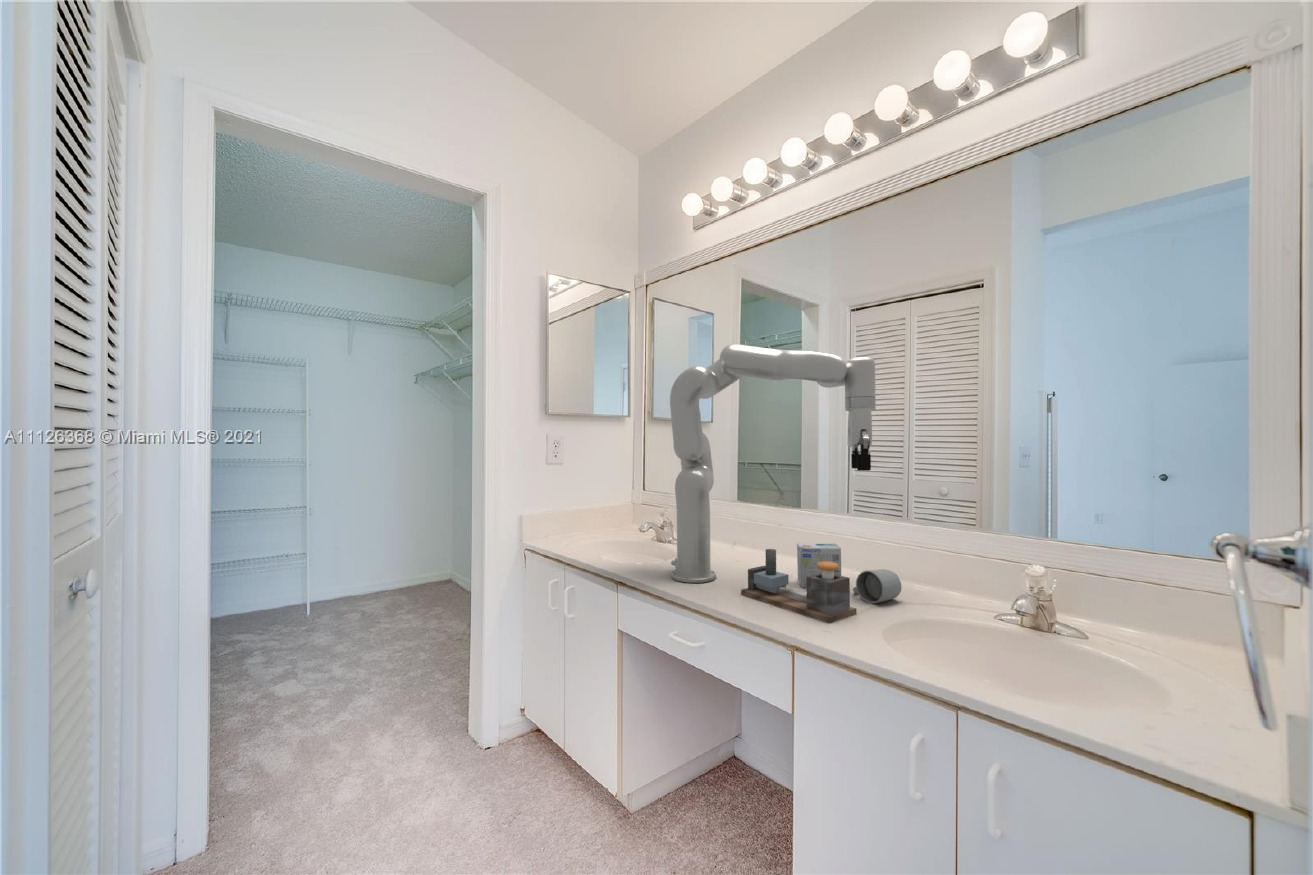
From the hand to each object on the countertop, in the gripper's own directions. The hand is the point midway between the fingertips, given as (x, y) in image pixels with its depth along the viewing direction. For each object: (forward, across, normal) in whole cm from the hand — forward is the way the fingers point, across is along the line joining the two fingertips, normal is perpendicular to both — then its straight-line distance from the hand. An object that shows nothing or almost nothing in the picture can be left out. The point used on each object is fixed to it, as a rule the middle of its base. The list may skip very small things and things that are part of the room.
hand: (860, 469), depth 134 cm
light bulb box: (+31, 0, -11) cm, 33 cm away
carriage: (+29, +13, -23) cm, 40 cm away
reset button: (+25, +23, -11) cm, 36 cm away
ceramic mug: (+32, +10, +1) cm, 33 cm away
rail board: (+31, +18, -18) cm, 40 cm away
